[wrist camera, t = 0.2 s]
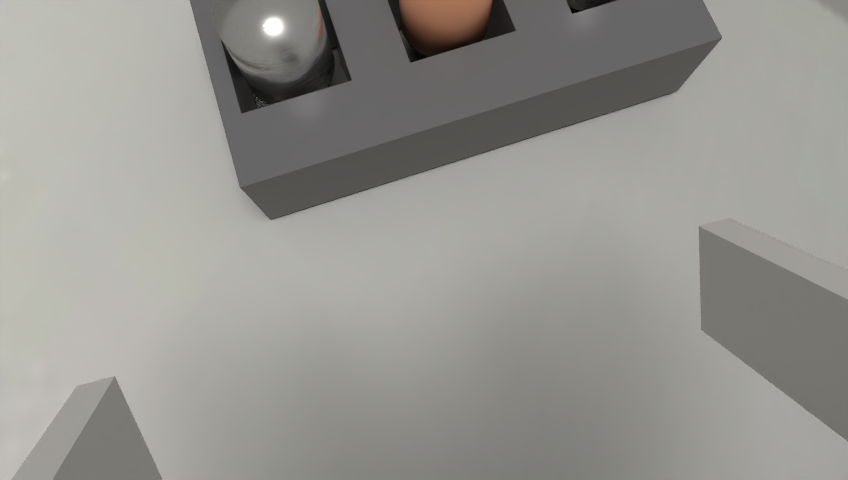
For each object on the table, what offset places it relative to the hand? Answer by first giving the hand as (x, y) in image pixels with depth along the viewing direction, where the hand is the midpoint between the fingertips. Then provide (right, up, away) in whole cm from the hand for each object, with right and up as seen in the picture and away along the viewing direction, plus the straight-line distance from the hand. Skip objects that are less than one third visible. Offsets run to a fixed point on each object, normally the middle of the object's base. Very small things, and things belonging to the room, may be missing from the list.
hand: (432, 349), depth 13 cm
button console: (+1, +13, +19) cm, 23 cm away
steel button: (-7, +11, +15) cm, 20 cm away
